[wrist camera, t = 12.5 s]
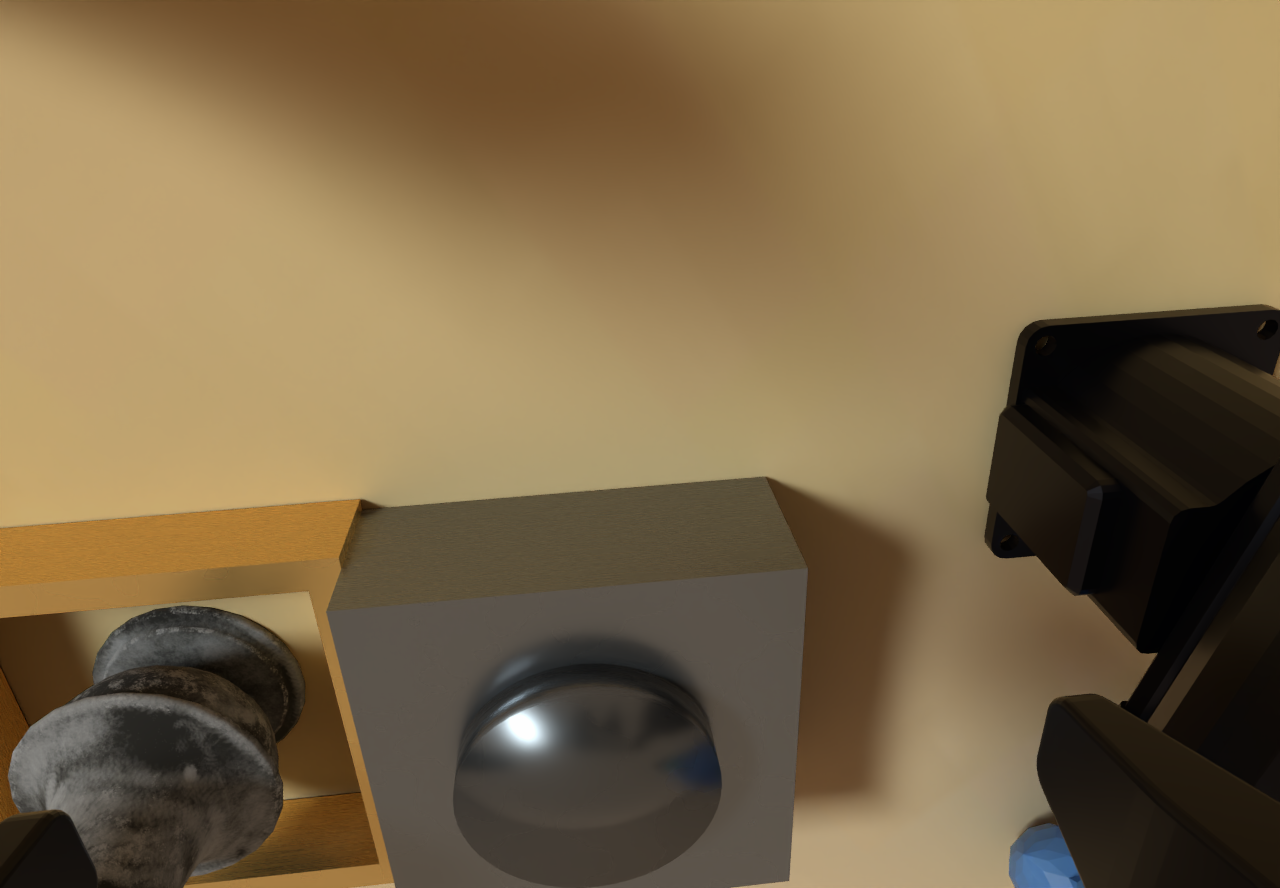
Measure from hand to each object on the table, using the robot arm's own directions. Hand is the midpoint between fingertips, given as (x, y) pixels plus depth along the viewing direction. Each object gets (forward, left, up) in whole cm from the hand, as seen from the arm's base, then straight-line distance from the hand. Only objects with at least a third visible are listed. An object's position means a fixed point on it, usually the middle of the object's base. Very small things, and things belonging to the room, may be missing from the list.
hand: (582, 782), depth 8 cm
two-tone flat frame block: (+5, +9, -13) cm, 17 cm away
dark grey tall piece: (+10, +10, -13) cm, 19 cm away
